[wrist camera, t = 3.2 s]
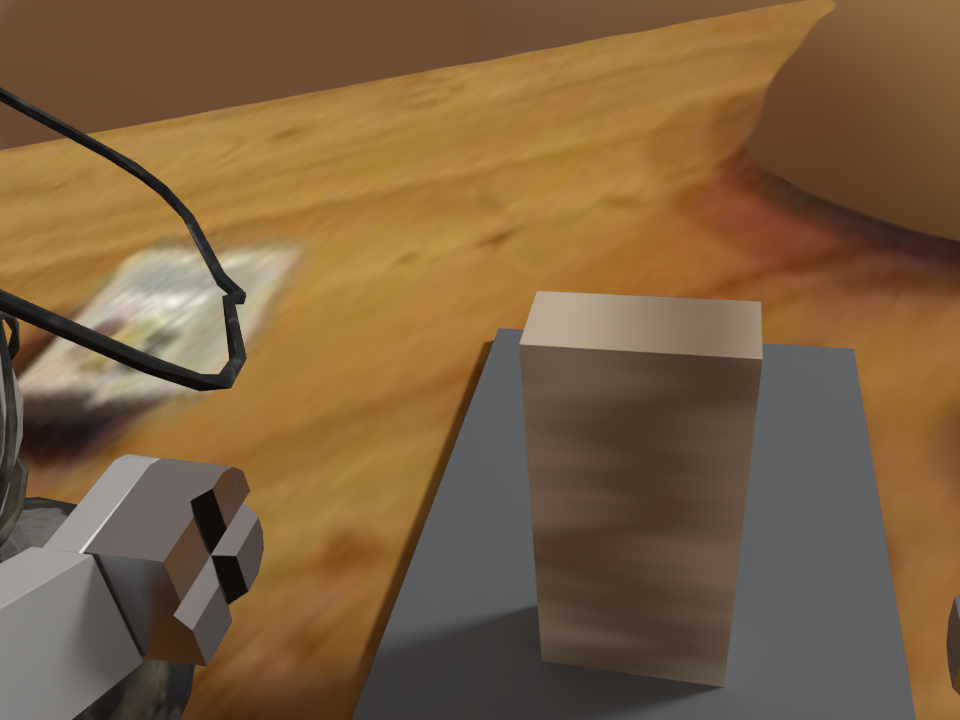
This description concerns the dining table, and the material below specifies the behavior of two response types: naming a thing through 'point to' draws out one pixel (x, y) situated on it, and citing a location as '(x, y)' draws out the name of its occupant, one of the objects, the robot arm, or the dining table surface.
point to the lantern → (33, 521)
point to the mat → (759, 588)
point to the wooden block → (639, 476)
